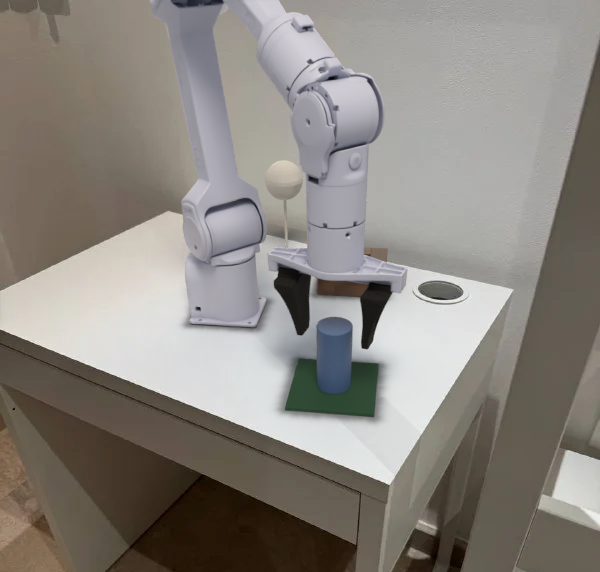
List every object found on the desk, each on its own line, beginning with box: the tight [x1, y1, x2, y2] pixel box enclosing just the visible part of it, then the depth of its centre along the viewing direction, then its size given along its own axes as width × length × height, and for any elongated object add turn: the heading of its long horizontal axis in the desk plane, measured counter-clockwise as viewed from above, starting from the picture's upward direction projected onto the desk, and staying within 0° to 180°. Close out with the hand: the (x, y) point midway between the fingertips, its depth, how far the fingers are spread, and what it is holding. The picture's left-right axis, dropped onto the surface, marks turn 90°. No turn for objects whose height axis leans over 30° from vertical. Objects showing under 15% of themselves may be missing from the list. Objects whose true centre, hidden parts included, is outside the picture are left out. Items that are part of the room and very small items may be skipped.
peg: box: [315, 316, 354, 394], centre depth 67 cm, size 4×4×8 cm
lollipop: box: [264, 159, 304, 248], centre depth 96 cm, size 6×6×15 cm
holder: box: [316, 246, 389, 298], centre depth 90 cm, size 10×10×4 cm
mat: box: [284, 357, 380, 418], centre depth 70 cm, size 10×10×1 cm
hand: (334, 337), depth 66 cm, fingers open, 7 cm apart
